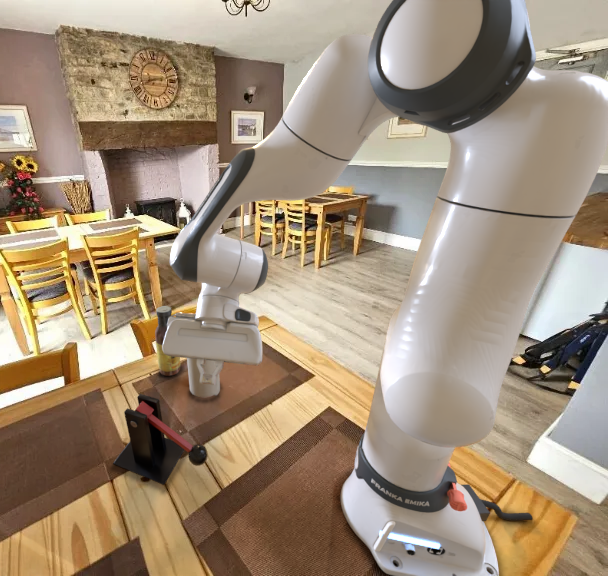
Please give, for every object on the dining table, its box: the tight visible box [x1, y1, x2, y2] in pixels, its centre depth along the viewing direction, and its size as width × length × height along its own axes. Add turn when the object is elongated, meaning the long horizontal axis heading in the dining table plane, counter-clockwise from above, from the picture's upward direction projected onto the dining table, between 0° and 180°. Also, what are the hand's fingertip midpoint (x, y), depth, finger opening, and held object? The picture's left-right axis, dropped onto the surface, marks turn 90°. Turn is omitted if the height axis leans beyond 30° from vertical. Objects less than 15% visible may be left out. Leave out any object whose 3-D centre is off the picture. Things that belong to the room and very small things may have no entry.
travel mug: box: [186, 358, 221, 398], centre depth 79 cm, size 8×8×18 cm
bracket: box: [112, 393, 185, 486], centre depth 61 cm, size 12×9×15 cm
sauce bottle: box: [154, 305, 182, 377], centre depth 86 cm, size 6×6×20 cm
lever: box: [134, 401, 209, 467], centre depth 59 cm, size 16×4×4 cm
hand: (207, 384), depth 60 cm, fingers closed
